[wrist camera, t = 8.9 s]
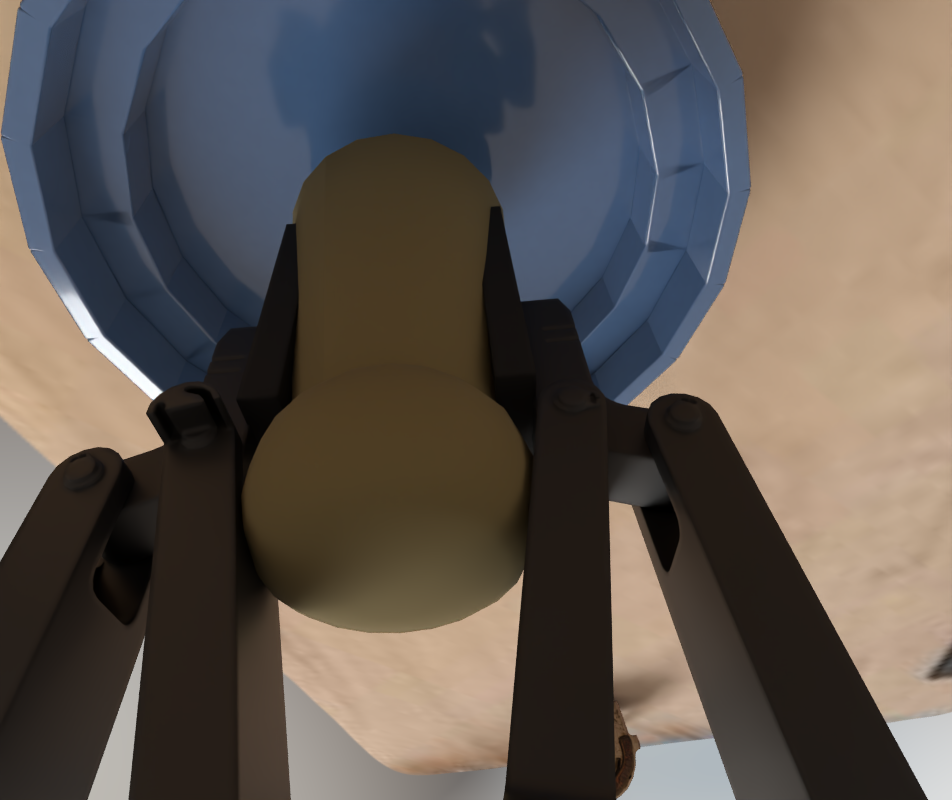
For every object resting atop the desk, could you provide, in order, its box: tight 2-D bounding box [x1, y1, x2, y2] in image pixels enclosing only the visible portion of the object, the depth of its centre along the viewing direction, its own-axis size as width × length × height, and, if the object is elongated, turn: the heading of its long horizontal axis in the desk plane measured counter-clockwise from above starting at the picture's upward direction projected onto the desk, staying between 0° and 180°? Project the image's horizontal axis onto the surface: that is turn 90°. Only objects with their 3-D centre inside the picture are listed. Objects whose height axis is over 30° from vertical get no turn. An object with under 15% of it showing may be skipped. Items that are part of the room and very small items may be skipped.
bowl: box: [1, 0, 751, 405], centre depth 18 cm, size 18×18×4 cm
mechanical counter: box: [614, 701, 640, 799], centre depth 53 cm, size 7×13×10 cm
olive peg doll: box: [241, 134, 533, 633], centre depth 14 cm, size 6×6×11 cm
